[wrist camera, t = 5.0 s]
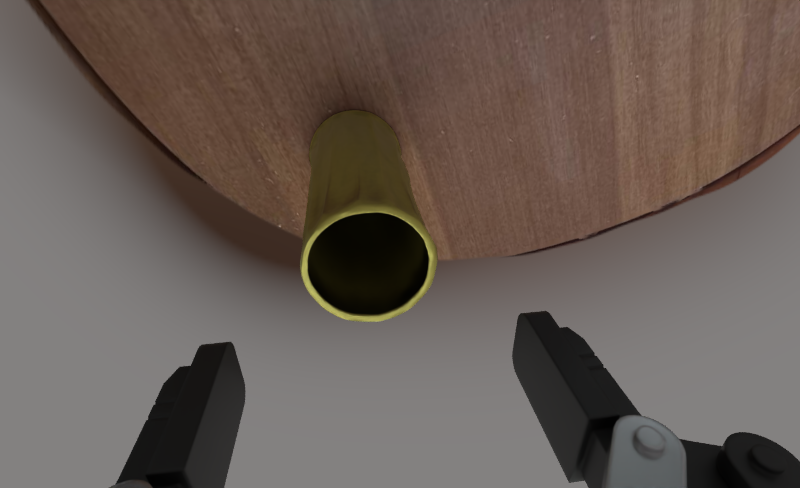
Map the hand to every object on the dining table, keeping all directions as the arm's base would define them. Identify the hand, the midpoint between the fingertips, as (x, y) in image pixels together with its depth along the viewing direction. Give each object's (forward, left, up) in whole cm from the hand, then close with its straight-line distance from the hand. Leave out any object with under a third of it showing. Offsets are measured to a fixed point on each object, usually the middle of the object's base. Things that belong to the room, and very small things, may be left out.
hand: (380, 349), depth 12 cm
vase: (0, 0, -19) cm, 19 cm away
